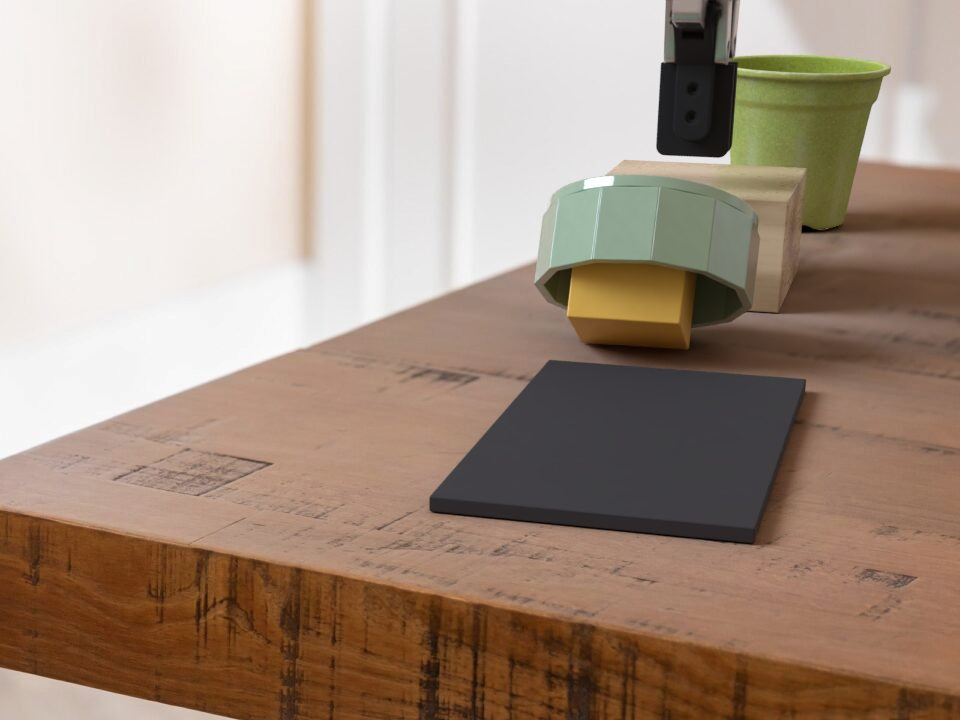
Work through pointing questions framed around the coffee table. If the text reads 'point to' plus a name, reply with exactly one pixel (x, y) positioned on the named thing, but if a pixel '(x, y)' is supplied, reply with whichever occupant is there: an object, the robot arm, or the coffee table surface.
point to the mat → (631, 451)
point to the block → (632, 304)
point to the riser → (772, 200)
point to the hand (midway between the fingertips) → (693, 153)
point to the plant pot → (806, 122)
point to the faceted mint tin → (653, 238)
